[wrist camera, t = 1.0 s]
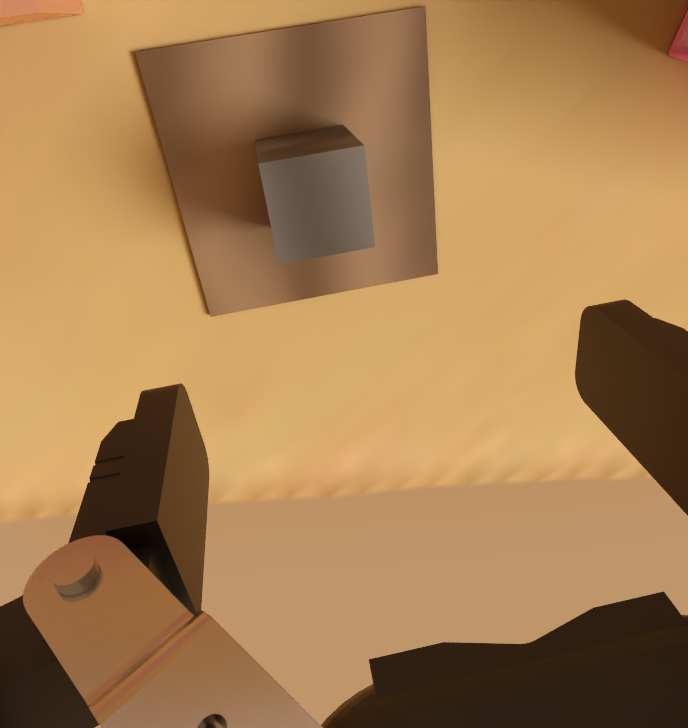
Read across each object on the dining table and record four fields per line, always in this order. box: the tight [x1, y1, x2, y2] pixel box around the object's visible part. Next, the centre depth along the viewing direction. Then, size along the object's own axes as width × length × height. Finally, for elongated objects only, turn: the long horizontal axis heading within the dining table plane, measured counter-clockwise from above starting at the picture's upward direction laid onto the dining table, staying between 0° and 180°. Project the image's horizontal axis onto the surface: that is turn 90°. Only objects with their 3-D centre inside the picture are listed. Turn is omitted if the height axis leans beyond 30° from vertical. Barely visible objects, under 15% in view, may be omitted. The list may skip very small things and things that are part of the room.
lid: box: [135, 7, 438, 317], centre depth 25 cm, size 12×12×6 cm
